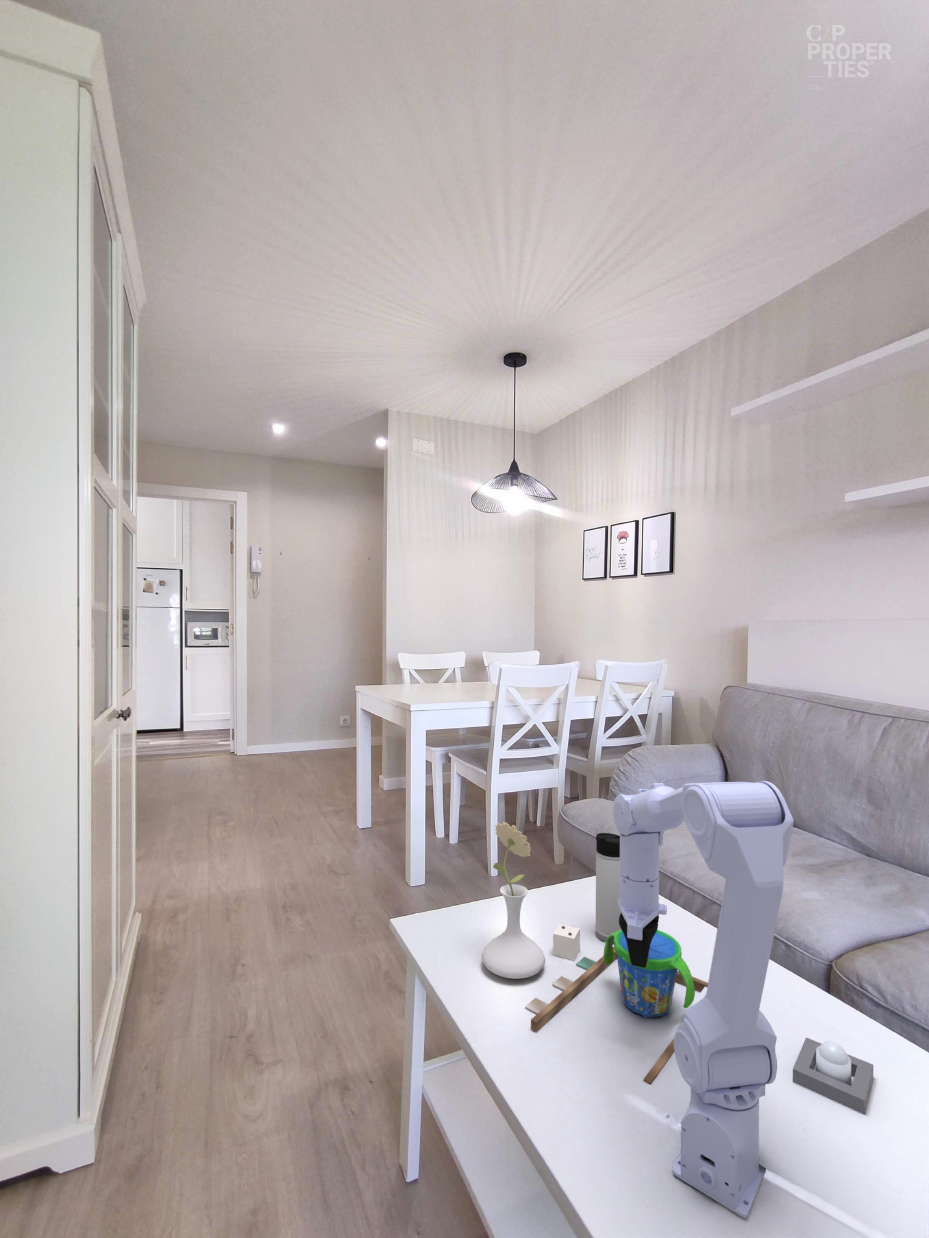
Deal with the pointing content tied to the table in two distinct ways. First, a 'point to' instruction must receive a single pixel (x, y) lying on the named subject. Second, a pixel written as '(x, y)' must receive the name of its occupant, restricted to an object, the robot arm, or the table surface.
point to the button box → (831, 1087)
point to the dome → (833, 1062)
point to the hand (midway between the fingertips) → (638, 964)
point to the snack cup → (650, 974)
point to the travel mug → (607, 884)
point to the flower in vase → (513, 920)
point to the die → (566, 942)
